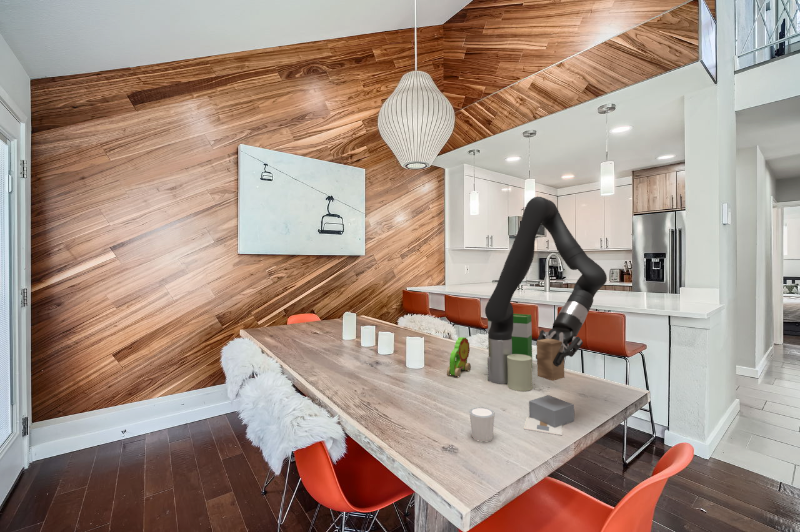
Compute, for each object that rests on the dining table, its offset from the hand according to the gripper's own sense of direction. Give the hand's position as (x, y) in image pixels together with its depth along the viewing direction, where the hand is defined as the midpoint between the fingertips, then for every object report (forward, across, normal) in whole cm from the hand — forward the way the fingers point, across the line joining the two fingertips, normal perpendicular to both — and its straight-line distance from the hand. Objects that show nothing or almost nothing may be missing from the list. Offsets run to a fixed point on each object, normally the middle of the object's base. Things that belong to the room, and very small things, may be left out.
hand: (546, 362), depth 107 cm
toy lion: (+7, -51, +18) cm, 54 cm away
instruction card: (+16, +2, +9) cm, 18 cm away
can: (+2, -24, +23) cm, 34 cm away
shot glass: (+29, -3, -4) cm, 30 cm away
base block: (+11, 0, +14) cm, 18 cm away
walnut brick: (+2, 0, +5) cm, 5 cm away
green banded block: (-10, -44, +35) cm, 57 cm away
